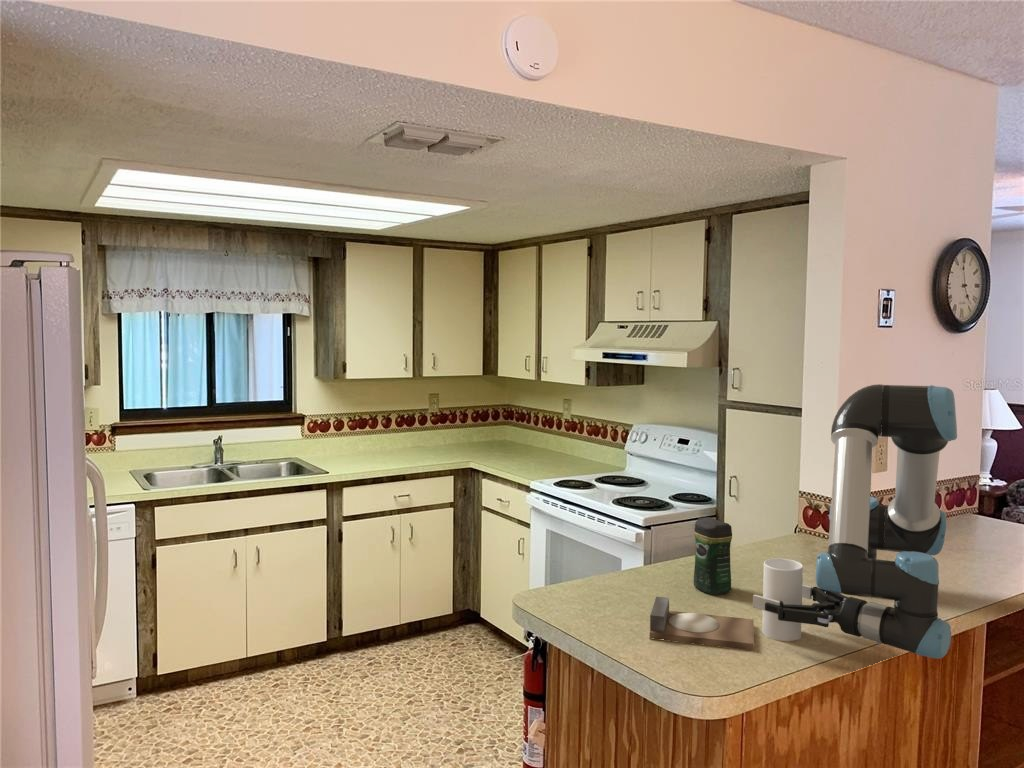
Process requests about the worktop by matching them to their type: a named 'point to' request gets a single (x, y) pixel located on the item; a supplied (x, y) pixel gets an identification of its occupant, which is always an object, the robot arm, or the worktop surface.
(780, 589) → the cup
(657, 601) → the board
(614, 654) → the worktop surface
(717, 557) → the coffee jar
